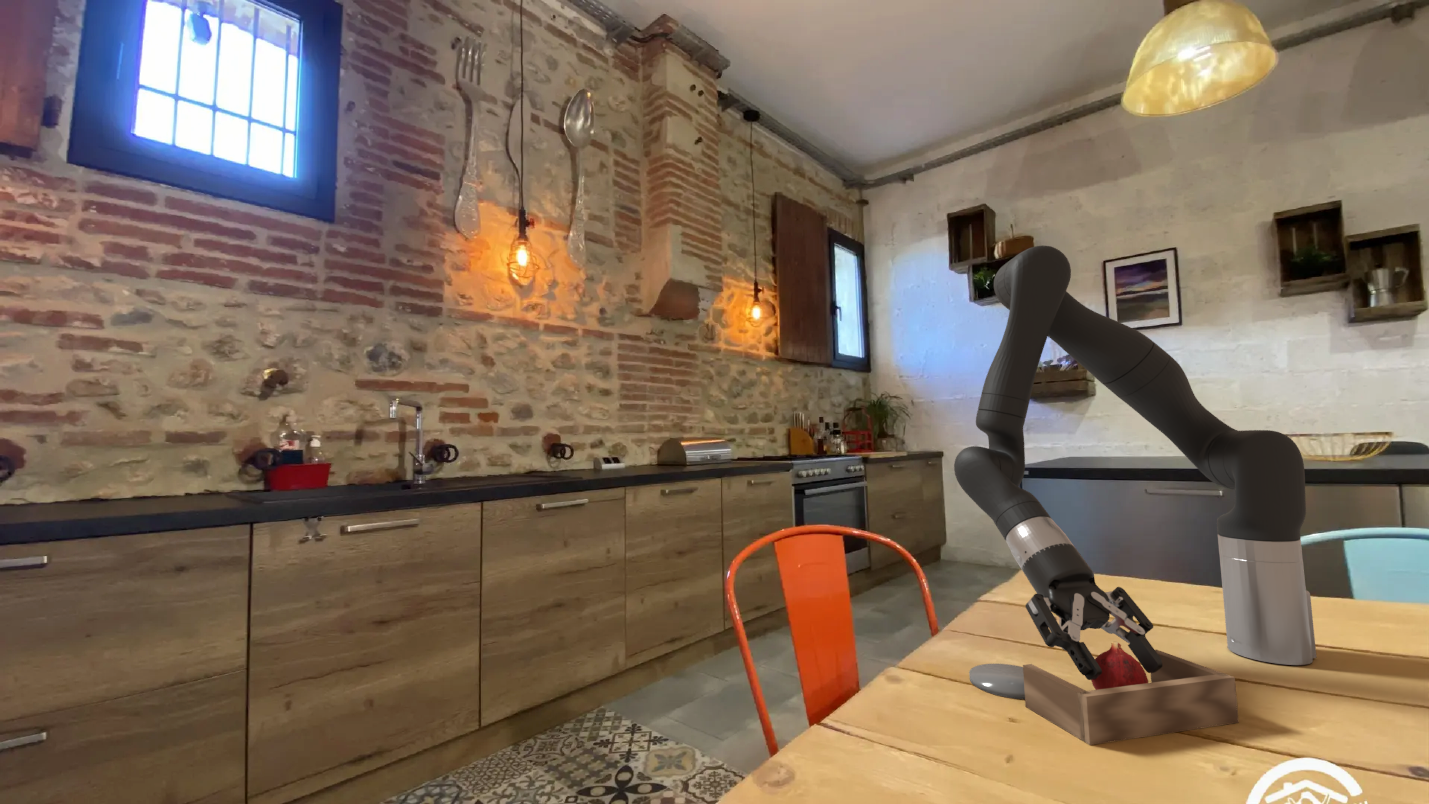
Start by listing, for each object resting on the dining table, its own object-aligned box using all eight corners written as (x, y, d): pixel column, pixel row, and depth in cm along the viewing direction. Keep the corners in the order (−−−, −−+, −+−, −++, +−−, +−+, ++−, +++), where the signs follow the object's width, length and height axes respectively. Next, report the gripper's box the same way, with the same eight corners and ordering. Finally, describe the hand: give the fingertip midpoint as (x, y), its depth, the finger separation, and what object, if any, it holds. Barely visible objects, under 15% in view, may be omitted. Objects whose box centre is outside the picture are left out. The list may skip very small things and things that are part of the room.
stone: (1016, 666, 85) (1015, 660, 85) (1070, 694, 76) (1070, 687, 76) (954, 673, 83) (954, 667, 83) (1002, 703, 74) (1002, 696, 74)
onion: (1161, 724, 67) (1155, 652, 68) (1105, 720, 68) (1100, 650, 69) (1136, 702, 73) (1131, 636, 74) (1084, 699, 74) (1080, 634, 75)
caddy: (1159, 689, 77) (1156, 649, 77) (1238, 722, 67) (1234, 677, 68) (1025, 706, 72) (1022, 664, 73) (1089, 744, 63) (1086, 696, 63)
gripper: (1014, 544, 78) (1092, 664, 66) (1105, 538, 81) (1196, 652, 69) (990, 576, 83) (1059, 694, 71) (1077, 570, 86) (1157, 681, 74)
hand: (1126, 673), depth 70 cm, fingers open, 8 cm apart
